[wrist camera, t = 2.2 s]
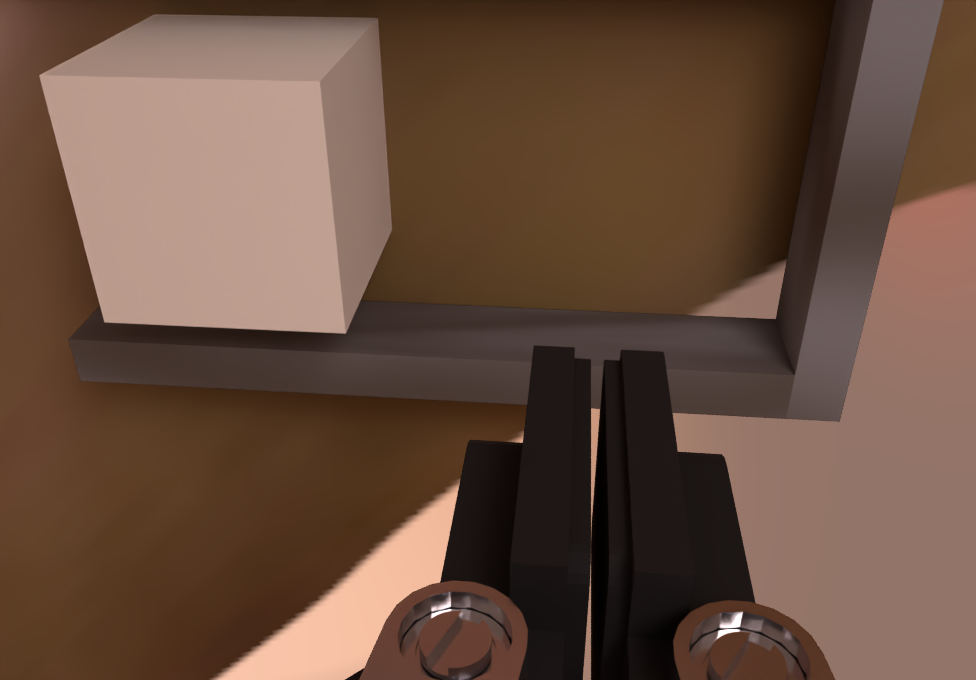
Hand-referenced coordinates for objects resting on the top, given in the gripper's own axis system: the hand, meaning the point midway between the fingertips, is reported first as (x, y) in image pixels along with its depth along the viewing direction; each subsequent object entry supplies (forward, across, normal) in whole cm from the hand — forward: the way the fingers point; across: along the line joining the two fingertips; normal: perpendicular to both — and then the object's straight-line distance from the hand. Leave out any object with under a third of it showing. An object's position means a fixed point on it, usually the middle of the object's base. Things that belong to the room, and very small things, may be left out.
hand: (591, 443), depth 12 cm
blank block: (+10, +7, -1) cm, 13 cm away
